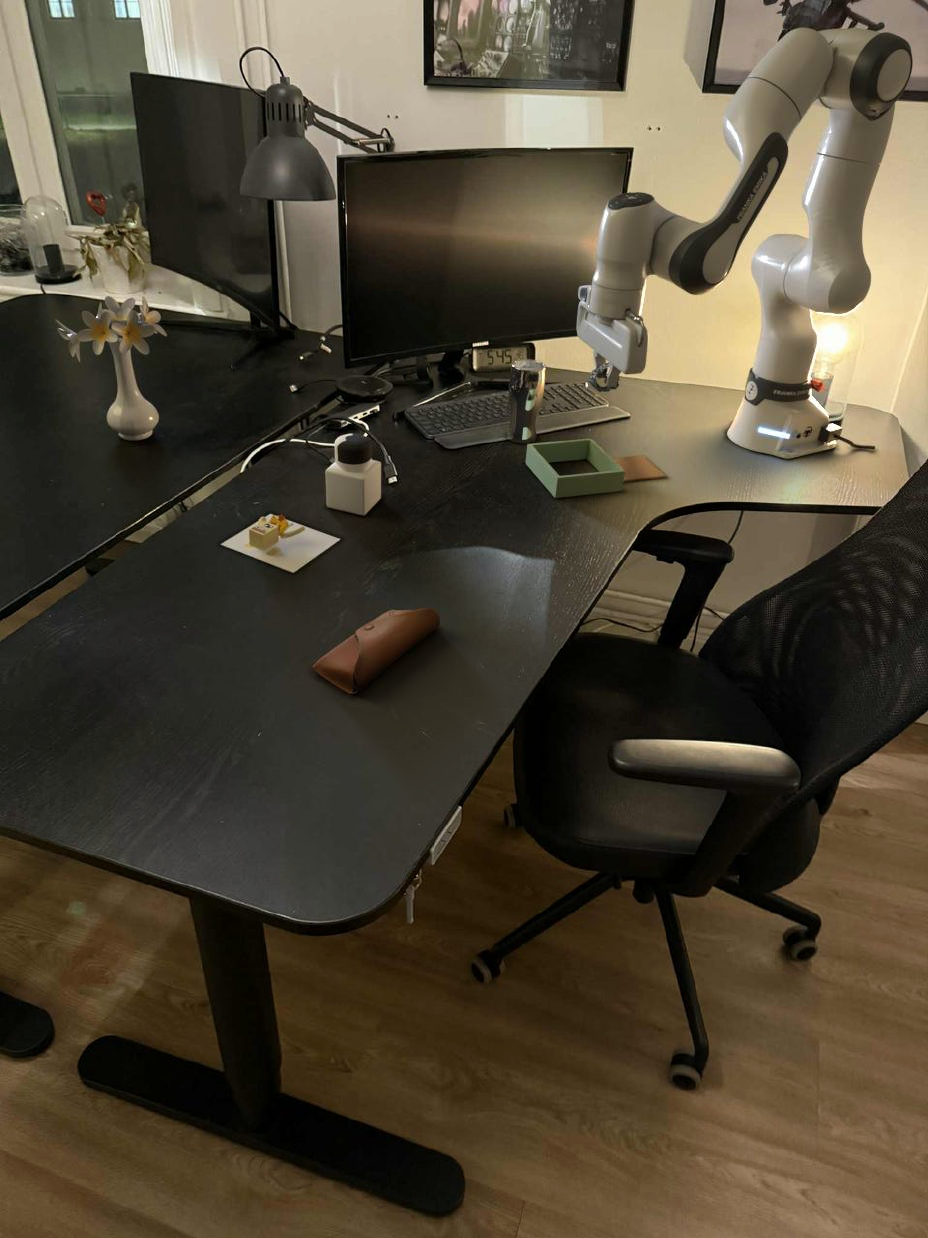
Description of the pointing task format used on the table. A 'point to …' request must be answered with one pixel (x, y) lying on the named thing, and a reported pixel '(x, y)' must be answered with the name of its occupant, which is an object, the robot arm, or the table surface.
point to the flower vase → (121, 360)
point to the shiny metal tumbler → (525, 399)
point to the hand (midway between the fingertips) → (604, 380)
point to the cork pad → (638, 468)
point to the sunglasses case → (375, 647)
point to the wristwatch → (594, 383)
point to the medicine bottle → (353, 476)
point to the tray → (576, 484)
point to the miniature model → (281, 542)
